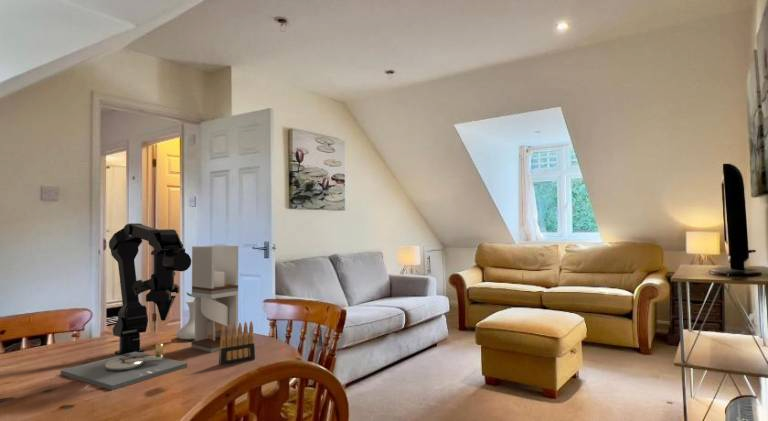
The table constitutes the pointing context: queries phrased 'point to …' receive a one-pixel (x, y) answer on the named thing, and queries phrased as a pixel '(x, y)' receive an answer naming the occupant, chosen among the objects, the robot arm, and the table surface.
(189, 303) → the flower in vase
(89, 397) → the table surface
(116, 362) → the disc crank with handle
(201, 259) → the display case
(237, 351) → the ammunition clip
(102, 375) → the stand base
